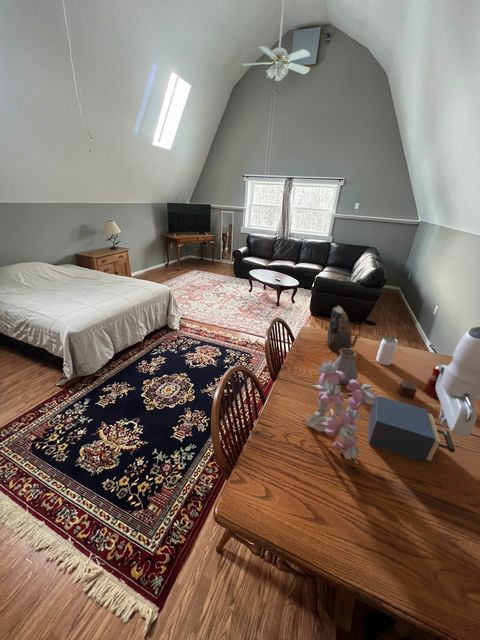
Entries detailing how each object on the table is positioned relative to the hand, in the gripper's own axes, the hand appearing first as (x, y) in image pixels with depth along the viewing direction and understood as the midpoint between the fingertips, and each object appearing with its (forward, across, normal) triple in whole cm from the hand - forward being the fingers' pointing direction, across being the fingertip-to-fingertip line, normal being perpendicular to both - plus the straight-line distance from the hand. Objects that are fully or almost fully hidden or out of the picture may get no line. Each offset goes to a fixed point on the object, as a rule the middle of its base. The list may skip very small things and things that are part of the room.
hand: (442, 422), depth 77 cm
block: (+11, +26, +4) cm, 28 cm away
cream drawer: (+10, 0, +5) cm, 11 cm away
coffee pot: (+11, +30, +27) cm, 42 cm away
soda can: (+11, +32, -7) cm, 35 cm away
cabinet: (+11, 0, +10) cm, 15 cm away
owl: (+11, +53, +32) cm, 63 cm away
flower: (+11, -10, +27) cm, 31 cm away
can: (+11, +48, +11) cm, 50 cm away
